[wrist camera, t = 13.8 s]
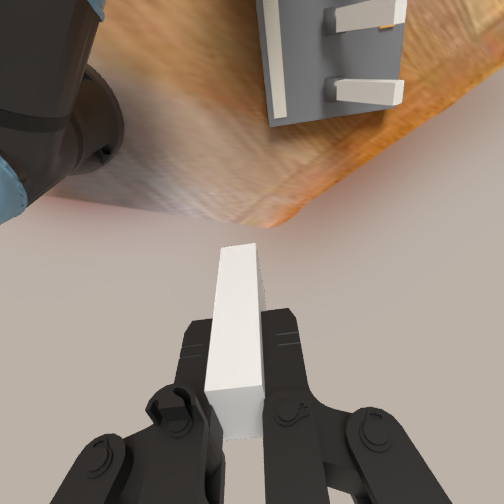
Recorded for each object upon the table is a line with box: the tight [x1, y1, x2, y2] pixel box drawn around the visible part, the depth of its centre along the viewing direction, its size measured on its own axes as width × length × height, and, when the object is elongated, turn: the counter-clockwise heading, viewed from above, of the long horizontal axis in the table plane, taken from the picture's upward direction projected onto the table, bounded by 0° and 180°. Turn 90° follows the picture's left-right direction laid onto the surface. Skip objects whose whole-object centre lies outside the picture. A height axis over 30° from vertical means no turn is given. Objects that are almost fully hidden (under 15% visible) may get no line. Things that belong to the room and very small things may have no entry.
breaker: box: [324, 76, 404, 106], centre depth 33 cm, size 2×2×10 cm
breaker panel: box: [255, 0, 404, 127], centre depth 35 cm, size 16×20×3 cm
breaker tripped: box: [323, 0, 407, 37], centre depth 30 cm, size 2×2×10 cm
